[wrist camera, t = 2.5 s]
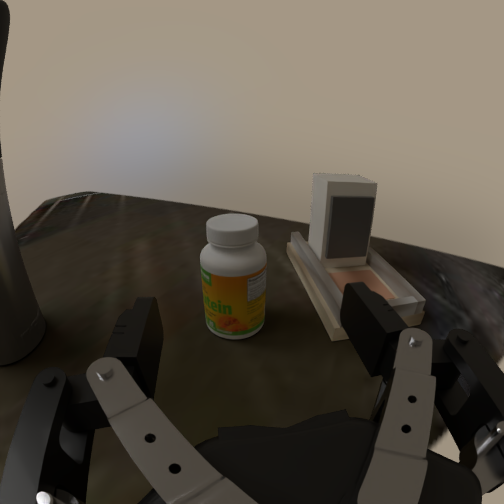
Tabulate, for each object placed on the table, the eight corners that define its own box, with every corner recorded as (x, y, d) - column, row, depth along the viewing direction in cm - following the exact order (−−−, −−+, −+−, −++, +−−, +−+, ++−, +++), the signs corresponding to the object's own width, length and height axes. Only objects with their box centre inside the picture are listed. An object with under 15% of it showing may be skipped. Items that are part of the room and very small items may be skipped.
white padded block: (321, 271, 32) (329, 182, 28) (307, 251, 37) (313, 173, 32) (367, 267, 32) (380, 184, 28) (349, 249, 37) (358, 175, 33)
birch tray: (331, 341, 23) (337, 314, 22) (286, 252, 40) (287, 232, 38) (420, 324, 25) (429, 299, 23) (352, 249, 41) (354, 230, 39)
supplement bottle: (194, 324, 26) (182, 223, 22) (232, 298, 30) (229, 207, 26) (239, 350, 23) (235, 240, 19) (275, 318, 27) (280, 219, 23)
